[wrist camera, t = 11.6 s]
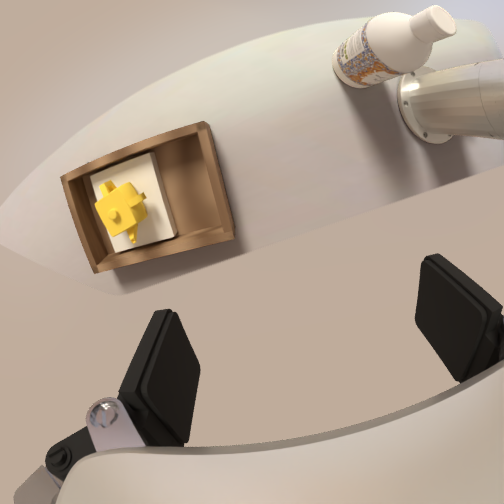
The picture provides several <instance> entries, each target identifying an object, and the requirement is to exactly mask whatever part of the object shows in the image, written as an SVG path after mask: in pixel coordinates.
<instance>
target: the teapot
mask: <svg viewBox="0 0 504 504" xmlns="http://www.w3.org/2000/svg"><path fill="white" fill-rule="evenodd" d="M99 188H100V190H101V192H102V195H103V198H101V199H100V200H99V201H97V202H96V203H95V207H96V210H97V212H98V214H99V216H100V218H101V220H102V222H103V223H104V225H105V227H106V228H107V230H108V232H109V233H110V235H111V236H112V237H115V236H117V235H119V234H120V233H122V232H124V231H127V233H128V235H129V238H130V241H131V242H132V243H133V244H134V243H136V242H137V230H138V223H139V222H141V221H143V220H144V219H145V218H146V217H147V216H148V214H147V211H146V209H145V207H144V205H143V203H142V201H143V200H144V199H146V198H147V197H146V195H145V193H144V192H143V193H141V194H139V195H138V193H137V191H136V190H135V188H134V186H133V185H132V183H131V182H127V183H125V184H123V185H121V186H119V187H118V188H117V187H116V186H115V185H114V183H113V182H112V181H111V180H109V181H107V182H105V183H103V184H102V185H100V186H99Z"/></svg>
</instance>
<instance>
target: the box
mask: <svg viewBox="0 0 504 504" xmlns="http://www.w3.org/2000/svg"><path fill="white" fill-rule="evenodd" d="M152 152H154V153H155V157H156V160H157V164H158V168H159V172H160V175H161V179H162V182H163V186H164V189H165V193H166V196H167V200H168V203H169V206H170V210H171V213H172V216H173V219H174V223H175V226H176V229H177V233H176V235H175V236H174V237H172V238H168V239H164V240H160V241H156V242H153V243H149V244H145V245H142V246H138V247H134V248H131V249H127V250H124V251H120V252H117V253H115V250H114V248H113V245H112V243H111V240H110V237H109V234H108V232H107V229H106V227H105V225H104V223H103V222H102V220H101V218H100V216H99V214H98V212H97V210H96V207H95V203H96V202H97V199H96V195H95V192H94V189H93V185H92V182H91V178H90V176H92V175H94V174H96V173H99V172H101V171H103V170H106V169H108V168H110V167H113V166H115V165H118V164H121V163H123V162H126V161H128V160H131V159H134V158H136V157H139V156H142V155H145V154H147V153H152ZM60 178H61V182H62V185H63V189H64V192H65V196H66V199H67V202H68V206H69V209H70V212H71V215H72V218H73V221H74V224H75V227H76V229H77V232H78V235H79V238H80V240H81V243H82V246H83V248H84V251H85V253H86V256H87V258H88V261H89V263H90V265H91V268H92V270H93V272H94V274H96V273H100V272H103V271H107V270H111V269H115V268H119V267H123V266H127V265H131V264H134V263H138V262H142V261H146V260H150V259H154V258H158V257H162V256H166V255H170V254H174V253H178V252H182V251H187V250H191V249H195V248H199V247H203V246H207V245H211V244H215V243H220V242H224V241H228V240H232V239H235V225H234V221H233V217H232V213H231V209H230V206H229V202H228V198H227V194H226V190H225V186H224V182H223V178H222V174H221V170H220V167H219V163H218V159H217V155H216V151H215V147H214V143H213V139H212V135H211V131H210V127H209V124H208V123H206V122H205V121H202V122H198V123H195V124H191V125H188V126H185V127H181V128H178V129H175V130H172V131H169V132H166V133H163V134H160V135H157V136H154V137H151V138H148V139H146V140H143V141H140V142H137V143H135V144H132V145H130V146H127V147H125V148H122V149H120V150H117V151H115V152H112V153H110V154H108V155H105V156H103V157H101V158H98V159H96V160H94V161H92V162H90V163H87V164H85V165H83V166H81V167H79V168H77V169H75V170H73V171H71V172H69V173H67V174H65V175H63V176H61V177H60Z"/></svg>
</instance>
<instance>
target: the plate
mask: <svg viewBox="0 0 504 504" xmlns="http://www.w3.org/2000/svg"><path fill="white" fill-rule="evenodd" d="M90 178H91V182H92V185H93V189H94V192H95V195H96V199H97V201H99V200H100V199H101V198H103V195H102V192H101V190H100V188H99V186H100V185H102V184H103V183H105V182H107V181H109V180H111V181H112V182H113V183H114V185H115V186H116V187H117V188H118V187H119V186H121V185H123V184H125V183H127V182H131V183H132V185H133V186H134V188H135V190H136V191H137V193H138V195H139V194H141V193H143V192H144V193H145V195H146V197H147V198H146V199H144V200H143V201H142V203H143V205H144V207H145V209H146V211H147V214H148V216H147V217H146V218H145V219H144V220H143V221H141V222H139V223H138V230H137V242H136V243H134V244H133V243H132V242H131V241H130V238H129V235H128V233H127V231H124V232H122V233H120V234H119V235H117V236H115V237H112V236H111V235H110V233H109V232H108V230H107V232H108V234H109V237H110V240H111V243H112V245H113V248H114V250H115V253H117V252H120V251H124V250H127V249H131V248H134V247H138V246H142V245H145V244H149V243H153V242H156V241H160V240H164V239H168V238H172V237H174V236H175V235H176V233H177V229H176V226H175V223H174V219H173V216H172V213H171V210H170V206H169V203H168V200H167V196H166V193H165V189H164V186H163V182H162V179H161V175H160V172H159V168H158V164H157V160H156V157H155V153H154V152H152V153H147V154H145V155H142V156H139V157H136V158H134V159H131V160H128V161H126V162H123V163H121V164H118V165H115V166H113V167H110V168H108V169H106V170H103V171H101V172H99V173H96V174H94V175H92V176H90ZM106 229H107V228H106Z"/></svg>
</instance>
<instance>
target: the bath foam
mask: <svg viewBox="0 0 504 504" xmlns="http://www.w3.org/2000/svg"><path fill="white" fill-rule="evenodd" d="M455 33H456V24H455V22H454V20H453V18H452V17H451V16H450V14H449V13H448V12H447V11H446V10H444V9H443V8H441V7H439V6H431V7H429V8H427V9H425V10H423V11H421V12H420V13H418V14H416V15H414V16H411V15H407V14H403V13H397V12H389V13H384V14H380V15H378V16H376V17H374V18H372V19H371V20H370V21H368V22H367V23H366V24H365V25H364V26H362V27H361V28H360V29H359V30H358V31H356V32H355V33H354V34H353V35H352V36H350V37H349V38H348V39H347V40H346V41H345V42H344V43H342V44H341V45H340V46H339V47H338V48H337V49H336V50H335V52H334V54H333V57H332V65H333V68H334V71H335V73H336V74H337V76H338V77H339V78H340V79H341V80H342V81H343V82H344V83H346V84H347V85H349V86H352V87H355V88H367V87H370V86H372V85H375V84H378V83H381V82H384V81H386V80H389V79H392V78H395V77H398V76H401V75H404V74H407V73H410V72H413V71H415V70H417V69H418V68H420V67H421V66H423V65H424V64H425V63H426V61H427V60H428V58H429V56H430V54H431V50H432V45H433V42H436V41H439V40H442V39H444V38H447V37H450V36H453V35H454V34H455Z"/></svg>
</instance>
